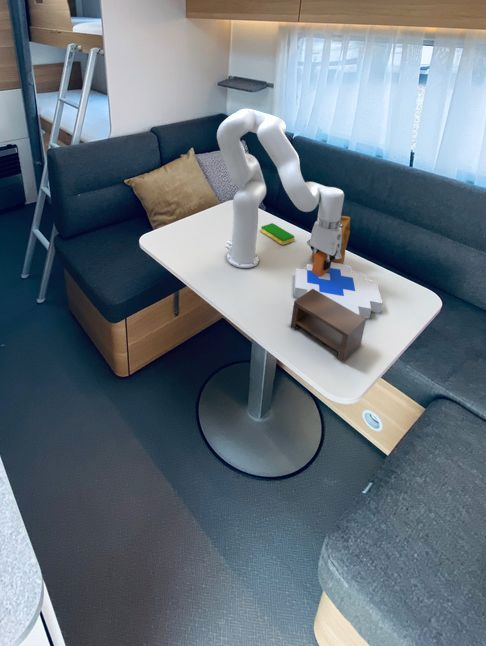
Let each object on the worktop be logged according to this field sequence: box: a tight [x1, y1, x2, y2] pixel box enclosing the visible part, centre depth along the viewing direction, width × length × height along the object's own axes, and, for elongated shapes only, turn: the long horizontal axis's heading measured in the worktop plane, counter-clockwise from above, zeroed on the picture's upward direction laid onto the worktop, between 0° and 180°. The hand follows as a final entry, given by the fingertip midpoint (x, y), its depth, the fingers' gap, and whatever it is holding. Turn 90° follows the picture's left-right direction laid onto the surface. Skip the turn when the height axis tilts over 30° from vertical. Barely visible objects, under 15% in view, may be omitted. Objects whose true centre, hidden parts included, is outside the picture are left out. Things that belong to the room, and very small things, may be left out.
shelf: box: [290, 289, 367, 363], centre depth 124 cm, size 18×10×10 cm, turn 40°
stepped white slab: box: [293, 262, 383, 320], centre depth 144 cm, size 28×4×28 cm
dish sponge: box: [260, 222, 295, 246], centre depth 182 cm, size 7×14×2 cm, turn 32°
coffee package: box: [311, 215, 351, 264], centre depth 160 cm, size 10×12×22 cm
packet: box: [312, 250, 329, 277], centre depth 149 cm, size 4×6×8 cm, turn 130°
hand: (321, 265), depth 150 cm, fingers closed on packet, 3 cm apart
